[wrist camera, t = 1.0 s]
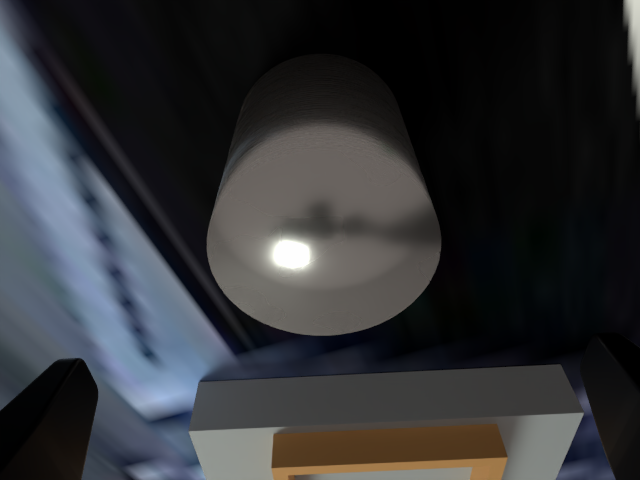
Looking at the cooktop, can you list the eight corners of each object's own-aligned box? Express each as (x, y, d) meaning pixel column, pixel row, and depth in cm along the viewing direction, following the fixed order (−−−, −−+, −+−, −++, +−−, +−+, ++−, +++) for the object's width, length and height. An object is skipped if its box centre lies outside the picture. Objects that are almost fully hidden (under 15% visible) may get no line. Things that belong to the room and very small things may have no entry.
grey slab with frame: (560, 364, 23) (600, 446, 20) (519, 482, 29) (544, 558, 26) (198, 381, 24) (181, 465, 20) (234, 495, 30) (225, 572, 27)
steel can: (406, 48, 15) (452, 143, 10) (399, 201, 18) (432, 330, 13) (225, 59, 15) (184, 159, 10) (249, 209, 18) (227, 340, 13)
